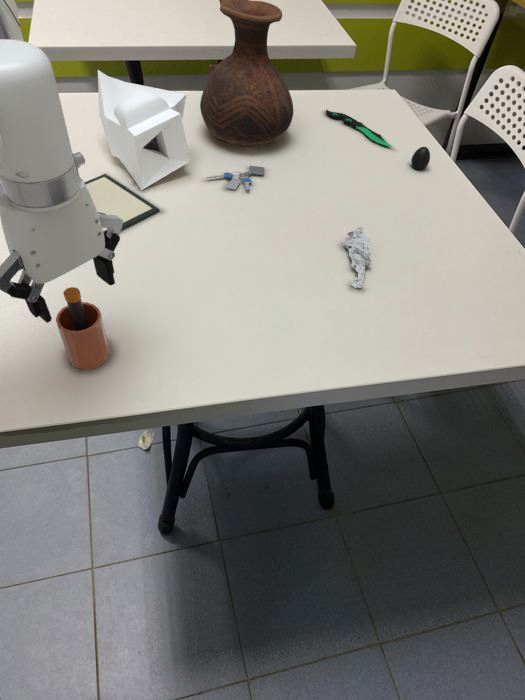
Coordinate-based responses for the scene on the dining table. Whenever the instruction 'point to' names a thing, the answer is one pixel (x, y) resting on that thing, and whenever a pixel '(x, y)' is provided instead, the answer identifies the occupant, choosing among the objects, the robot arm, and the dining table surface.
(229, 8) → the jug
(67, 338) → the pen cup
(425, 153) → the egg
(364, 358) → the dining table surface
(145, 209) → the drawing mat
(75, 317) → the marker
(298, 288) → the dining table surface
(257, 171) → the key chain
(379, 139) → the knife
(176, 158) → the folded paper
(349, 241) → the paper
